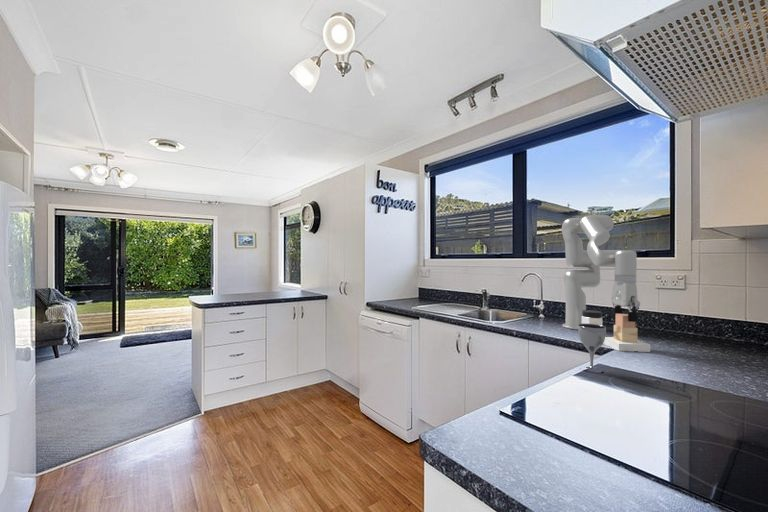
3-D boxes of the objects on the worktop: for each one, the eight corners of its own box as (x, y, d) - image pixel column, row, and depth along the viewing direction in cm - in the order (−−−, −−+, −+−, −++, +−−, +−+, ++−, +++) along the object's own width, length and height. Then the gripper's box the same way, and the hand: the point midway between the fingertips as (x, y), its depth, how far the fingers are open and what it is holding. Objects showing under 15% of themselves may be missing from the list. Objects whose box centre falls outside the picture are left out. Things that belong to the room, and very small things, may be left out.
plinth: (602, 343, 147) (602, 336, 147) (631, 344, 146) (631, 337, 146) (618, 351, 135) (618, 343, 135) (650, 352, 134) (650, 344, 134)
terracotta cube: (615, 325, 143) (615, 313, 143) (627, 325, 143) (627, 313, 143) (622, 327, 138) (622, 315, 138) (635, 327, 138) (635, 315, 138)
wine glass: (580, 372, 110) (581, 327, 110) (576, 365, 117) (576, 322, 117) (608, 375, 107) (609, 329, 107) (602, 367, 114) (602, 324, 114)
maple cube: (613, 338, 144) (613, 324, 144) (628, 338, 143) (628, 325, 143) (622, 342, 138) (622, 327, 138) (637, 342, 137) (637, 328, 137)
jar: (599, 338, 156) (599, 313, 156) (579, 335, 162) (579, 311, 162) (604, 335, 162) (604, 311, 162) (585, 333, 168) (585, 309, 168)
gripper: (604, 277, 150) (604, 315, 150) (628, 280, 133) (628, 323, 133) (622, 278, 149) (621, 315, 149) (648, 281, 132) (648, 323, 132)
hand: (624, 319), depth 141 cm, fingers open, 9 cm apart
